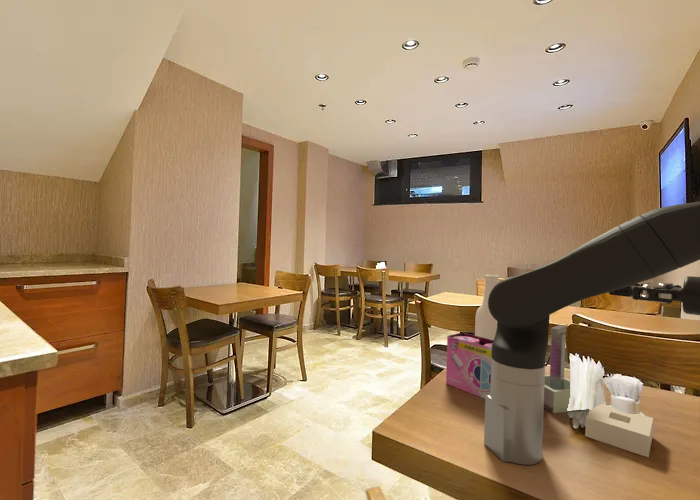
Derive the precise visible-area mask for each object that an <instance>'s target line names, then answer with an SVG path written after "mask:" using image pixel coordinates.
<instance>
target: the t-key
mask: <svg viewBox="0 0 700 500" xmlns="http://www.w3.org/2000/svg"><path fill="white" fill-rule="evenodd" d="M567 329H568V328H567V325H564V324H563V325H562V324H558V325H555V326H553V327H551V328H550V335H551V337H550V338H551V339H550V340H551V341H550V364H549V365H550V366H549V367H550V368H549V369H550V370H549V375H550V388H552V389H554V390H562V389H564V377H565V361H566V338H567V337H566V335H567V334H566V333H567Z"/></svg>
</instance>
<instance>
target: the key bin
mask: <svg viewBox="0 0 700 500" xmlns="http://www.w3.org/2000/svg"><path fill="white" fill-rule="evenodd" d="M570 380H571V379H570V378H567V377H565V376H564V389H562V390H554V389H552V388H550V374H545V386H544V409H546V410H547V411H549V412H551V413H552V414H557V413H558V414H560V413H568V412H567V408H568V404H569V398H570Z"/></svg>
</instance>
